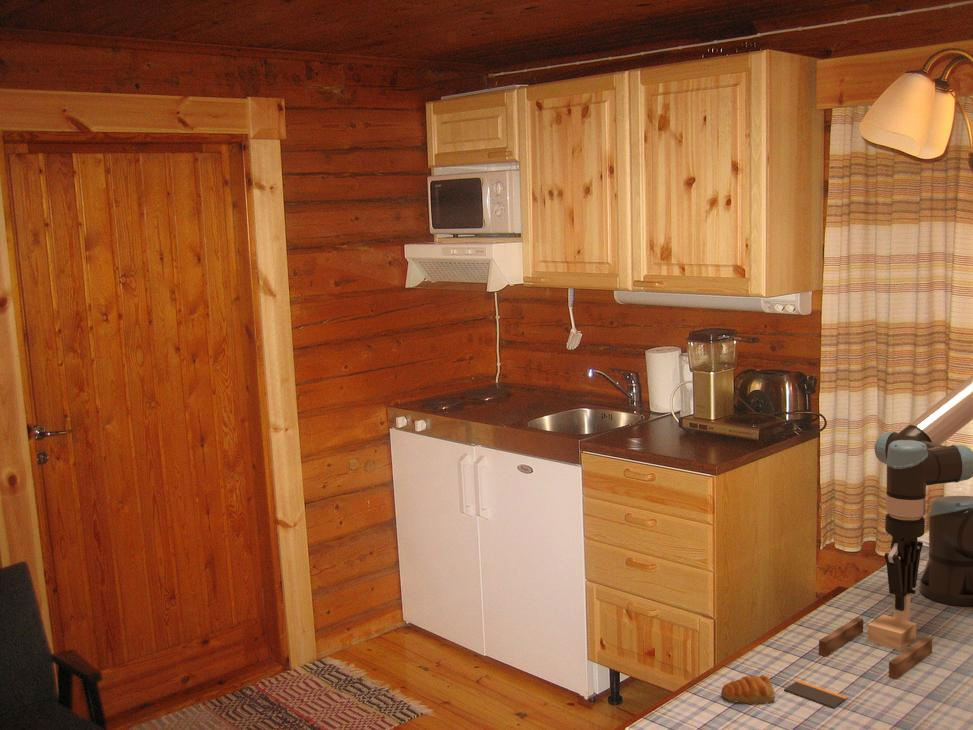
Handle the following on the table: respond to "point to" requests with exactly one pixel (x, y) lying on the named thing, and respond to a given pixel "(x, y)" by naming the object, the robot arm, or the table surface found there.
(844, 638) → the lane
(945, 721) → the table surface
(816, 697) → the pad
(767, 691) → the pastry
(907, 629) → the block
